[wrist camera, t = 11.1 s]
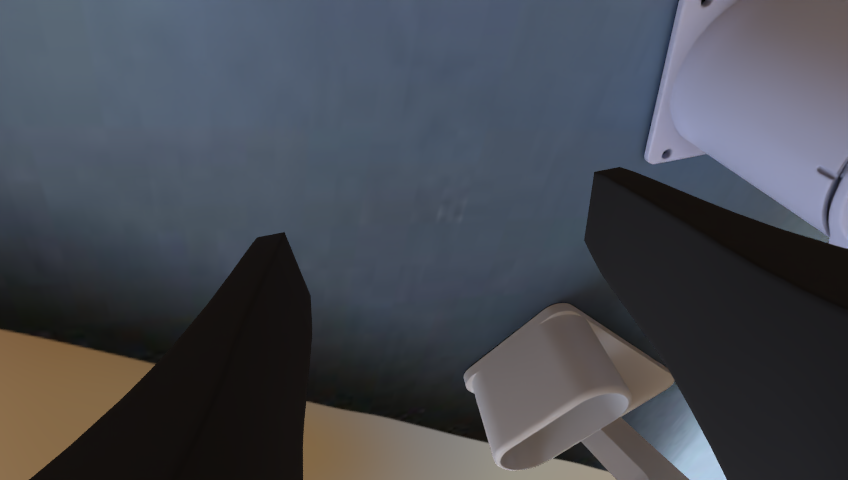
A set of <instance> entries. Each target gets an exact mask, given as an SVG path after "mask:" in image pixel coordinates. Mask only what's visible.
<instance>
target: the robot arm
mask: <svg viewBox="0 0 848 480" xmlns="http://www.w3.org/2000/svg"><path fill="white" fill-rule="evenodd" d="M665 150H667V151H666V153H664V154H663V152H664V151H665ZM662 154H663V155H662ZM704 154H708V155H709V156H711V157H712V158H714V159H715V160H717V161H718V162H720V163H721V164H722V165H724V166H725V167H727V168H728V169H730V170H731V171H733V172H734V173H736V174H737V175H739V176H740V177H742V178H743V179H744V180H746V181H747V182H749V183H750V184H752V185H753V186H755V187H756V188H758V189H759V190H761V191H762V192H764V193H765V194H767V195H768V196H769V197H771V198H772V199H774V200H775V201H777V202H778V203H780V204H781V205H783V206H784V207H786V208H787V209H789V210H790V211H792V212H793V213H794V214H796V215H797V216H799V217H800V218H802V219H803V220H805V221H806V222H808V223H809V224H811V225H812V226H814V227H815V228H816V229H818V230H819V231H821V232H822V233H824V234H825V235H827V236H828V237H830V239H829V242H828V243H825V242H822V241H818V240H815V239H812V238H808V237H805V236H801V235H798V234H795V233H792V232H788V231H785V230H782V229H779V228H776V227H773V226H770V225H768V224H765V223H762V222H759V221H756V220H754V219H751V218H748V217H745V216H743V215H740V214H737V213H734V212H732V211H729V210H727V209H724V208H721V207H719V206H716V205H714V204H711V203H709V202H706V201H704V200H702V199H699V198H697V197H694V196H692V195H689V194H687V193H685V192H682V191H680V190H677V189H675V188H673V187H670V186H668V185H665V184H663V183H661V182H658V181H656V180H653V179H651V178H648V177H646V176H643V175H641V174H638V173H636V172H633V171H630V170H627V169H624V168H621V167H618V168H613V169H608V170H602V171H597V172H594V179H593V185H592V192H591V199H590V206H589V212H588V219H587V226H586V233H585V239H584V241H585V243H586V245H587V247H588V249H589V251H590V253H591V255H592V257H593V259H594V261H595V263H596V265H597V266H598V268H599V270H600V272H601V274H602V275H603V277H604V278H605V280H606V281H607V283H608V284H609V286H610V287H611V288H612V290H613V291H614V293H615V294H616V295H617V297H618V298H619V300H620V301H621V303H622V304H623V305H624V307H625V308H626V309H627V311H628V312H629V314H630V315H631V316H632V318H633V319H634V320H635V322H636V323H637V325H638V326H639V327H640V329H641V330H642V332H643V333H644V334H645V336H646V337H647V339H648V340H649V341H650V343H651V344H652V345H653V347H654V348H655V350H656V351H657V353H658V354H659V356H660V357H661V359H662V360H663V362H664V363H665V365H666V366H667V368H668V370H669V372H670V373H671V375H672V377H673V379H674V380H675V382H676V384H677V386H678V387H679V389H680V391H681V393H682V394H683V396H684V398H685V400H686V401H687V403H688V405H689V407H690V409H691V410H692V412H693V414H694V416H695V418H696V420H697V422H698V424H699V425H700V427H701V429H702V431H703V433H704V435H705V437H706V439H707V440H708V442H709V444H710V446H711V448H712V450H713V452H714V454H715V456H716V458H717V460H718V462H719V464H720V466H721V468H722V470H723V472H724V475H725V477H726V479H727V480H848V0H705V1H704V2H703V4H701V0H679V3H678V7H677V12H676V16H675V21H674V25H673V30H672V34H671V38H670V43H669V47H668V52H667V56H666V61H665V65H664V70H663V74H662V79H661V83H660V87H659V92H658V96H657V101H656V105H655V110H654V114H653V119H652V123H651V127H650V132H649V136H648V141H647V145H646V150H645V154H644V158H645V160H646V161H647V162H649V163H650V164H658V163H663V162H668V161H673V160H678V159H683V158H689V157H694V156H699V155H704ZM311 342H312V316H311V296H310V294H309V291H308V289H307V286H306V284H305V281H304V279H303V276H302V274H301V272H300V269H299V267H298V264H297V262H296V259H295V257H294V255H293V252H292V250H291V247H290V245H289V242H288V240H287V238H286V235H285V233H284V232H283V233H278V234H273V235H268V236H263V237H258V238H256V240H255V241H254V242H253V243H252V245H251V246H250V247H249V249H248V250H247V252H246V253H245V254H244V256H243V257H242V258H241V260H240V261H239V263H238V264H237V265H236V267H235V268H234V270H233V271H232V272H231V274H230V275H229V276H228V278H227V279H226V280H225V282H224V283H223V284H222V286H221V287H220V288H219V290H218V291H217V292H216V294H215V295H214V296H213V298H212V299H211V300H210V302H209V303H208V304H207V305H206V307H205V308H204V309H203V310H202V311H201V313H200V314H199V315H198V316H197V318H196V319H195V320H194V321H193V322H192V324H191V325H190V326H189V327H188V328H187V330H186V331H185V332H184V333H183V334H182V336H181V337H180V338H179V339H178V340H177V342H176V343H175V344H174V345H173V346H172V347H171V348H170V350H169V351H168V352H167V353H166V354H165V355H164V356H163V357H162V358H161V359H160V360H159V362H158V363H157V364H156V365H155V366H154V367H153V368H152V369H151V370H150V371H149V372H148V373H147V374H146V375H145V376H144V377H143V378H142V379H141V380H140V381H139V382H138V383H137V384H136V385H135V386H134V387H133V388H132V389H131V390H130V391H129V392H128V393H127V394H126V395H125V396H124V397H123V398H122V399H121V400H120V401H119V402H118V403H117V404H116V405H114V406H113V407H112V408H111V409H110V410H109V411H108V412H107V413H106V414H105V415H103V416H102V417H101V418H100V419H99V420H98V421H97V422H96V423H95V424H93V425H92V426H91V427H90V428H89V429H88V430H87V431H86V432H85V433H84V434H82V435H81V436H80V437H79V438H78V439H77V440H76V441H75V442H74V443H73V444H71V446H69V447H68V448H67V449H66V450H64V451H63V452H62V453H61V454H60V455H58V456H57V457H56V458H55V459H54V460H52V461H51V462H50V463H49V464H48V465H46V466H45V467H44V468H43V469H42V470H40V471H39V472H38V473H37V474H36V475H34V476H33V477H32V478H31V479H29V480H303V431H304V418H305V408H306V397H307V386H308V376H309V365H310V354H311Z"/></svg>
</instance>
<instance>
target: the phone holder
mask: <svg viewBox="0 0 848 480" xmlns="http://www.w3.org/2000/svg"><path fill="white" fill-rule="evenodd" d="M464 381H465V384H466V388H467V389H468V390H469V391H470V392H472V393H475V397H476V400H477V404H478V407H479V411H480V414H481V418H482V421H483V424H484V428H485V431H486V435H487V438H488V442H489V445H490V449H491V452H492V456H493V459H494V461H495V463H496V464H497V465H498V466H499V467H501V468H503V469H506V470H525V469H529V468H533V467H536V466H539V465H541V464H544V463H545V462H547V461H549V460H551V459H552V458H554V457H556V456H557V455H559V454H561V453H562V452H564V451H566V450H567V449H569V448H570V447H572V446H574V445H575V444H577V443H579V442H580V441H581V442H582V443H583V444H584V445H585V446H586V447H587V448H588V449H589V450H590V451H591V453H592V454H593V455H594V456H595V457H596V458H597V459H598V460H599V461H600V462H601V463H602V464H603V466H604V467H605V468H606V469H607V470H608V471H609V472H610V473H611V474H612V475H613V476H614V477H615V478H616V479H617V480H689V479H688V478H687V477H686V476H685V475H684V474H683V473H681V472H680V471H679V470H678V469H677V468H676V467H675V466H674V465H673V464H672V463H670V462H669V461H668V460H667V459H666V458H665V457H664V456H663V455H662V454H661V453H659V452H658V451H657V450H656V449H655V448H654V447H653V446H652V445H651V444H649V443H648V442H647V441H646V440H645V439H644V438H643V437H642V436H641V435H640V434H638V433H637V432H636V431H635V430H634V429H633V428H632V427H631V426H630V425H629V424H627V423H626V422H625V421H624V420H623V419H622V418H621V416H623V415H625V414H626V413H628V412H630V411H631V410H633V409H634V408H636V407H638V406H639V405H641V404H643V403H644V402H646V401H648V400H649V399H651V398H653V397H654V396H656V395H657V394H659V393H661V392H662V391H664V390H666V389H667V388H669V387H670V386H671V385H672V384H673V382H674V379H673V377H672V375H671V373H670V372H669V370H668V368H666V367H665V366H663V365H662V364H660V363H659V362H657V361H656V360H654V359H653V358H651V357H650V356H648V355H647V354H645V353H644V352H642V351H641V350H639V349H638V348H636V347H635V346H633V345H632V344H630V343H629V342H627V341H626V340H624V339H622V338H621V337H619V336H618V335H616V334H615V333H613V332H612V331H610V330H609V329H607V328H606V327H604V326H603V325H601V324H600V323H598V322H597V321H595V320H594V319H592V318H591V317H589V316H588V315H586V314H585V313H583V312H582V311H580V310H579V309H577V308H576V307H574V306H573V305H571V304H568V303H558V304H554V305H551V306H549V307H547V308H546V309H544V310H543V311H542V312H540V313H539V314H538V315H537V316H535V317H534V318H533V319H531V320H530V321H529V322H528V323H526V324H525V325H524V326H522V327H521V328H520V329H519V330H517V331H516V332H515V333H514V334H512V335H511V336H510V337H508V338H507V339H506V340H505V341H503V342H502V343H501V344H500V345H498V346H497V347H496V348H494V349H493V350H492V351H491V352H489V353H488V354H487V355H485V356H484V357H483V358H482V359H480V360H479V361H478V362H477V363H475V364H474V365H473V366H471V367H470V368H469V369H468V370H467V371H466V372H465V374H464Z"/></svg>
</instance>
